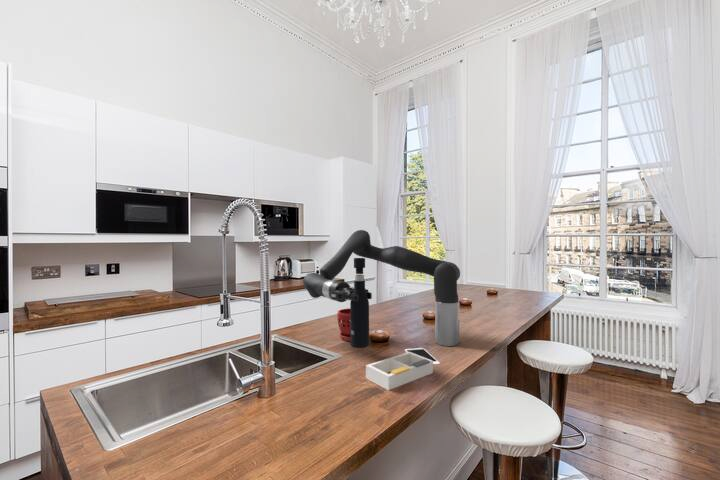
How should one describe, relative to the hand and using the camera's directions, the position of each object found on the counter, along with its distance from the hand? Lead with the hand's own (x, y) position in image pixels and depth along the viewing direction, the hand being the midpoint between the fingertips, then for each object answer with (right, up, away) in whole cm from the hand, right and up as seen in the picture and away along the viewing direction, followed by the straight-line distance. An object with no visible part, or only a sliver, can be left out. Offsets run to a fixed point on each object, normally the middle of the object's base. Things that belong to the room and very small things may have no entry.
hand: (364, 297), depth 113 cm
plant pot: (-5, -23, +32) cm, 40 cm away
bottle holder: (+11, -24, -7) cm, 27 cm away
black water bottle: (-1, -17, +2) cm, 17 cm away
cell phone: (+21, -24, +10) cm, 34 cm away
